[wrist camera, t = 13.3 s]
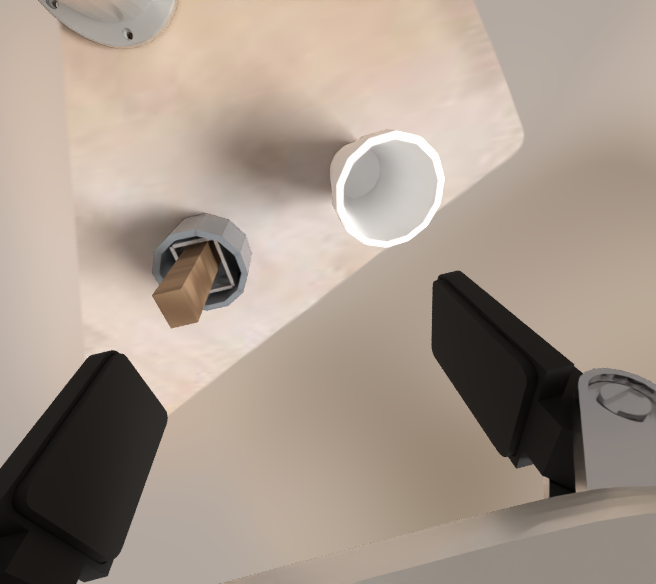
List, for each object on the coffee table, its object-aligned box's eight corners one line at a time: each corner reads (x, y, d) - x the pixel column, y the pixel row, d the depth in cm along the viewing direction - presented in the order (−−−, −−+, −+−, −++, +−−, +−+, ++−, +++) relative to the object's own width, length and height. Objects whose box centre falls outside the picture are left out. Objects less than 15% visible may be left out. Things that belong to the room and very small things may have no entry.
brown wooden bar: (192, 237, 36) (151, 295, 24) (212, 233, 36) (180, 289, 24) (203, 262, 38) (171, 328, 26) (222, 258, 38) (197, 322, 26)
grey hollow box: (178, 233, 36) (168, 245, 32) (220, 224, 36) (215, 235, 32) (200, 281, 39) (193, 296, 36) (239, 272, 39) (235, 287, 36)
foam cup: (347, 224, 39) (376, 266, 28) (300, 168, 35) (312, 191, 24) (406, 174, 37) (462, 197, 26) (363, 107, 33) (409, 101, 21)
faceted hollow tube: (155, 224, 35) (135, 242, 30) (235, 206, 36) (229, 221, 31) (189, 292, 40) (177, 317, 35) (259, 276, 41) (257, 299, 36)
